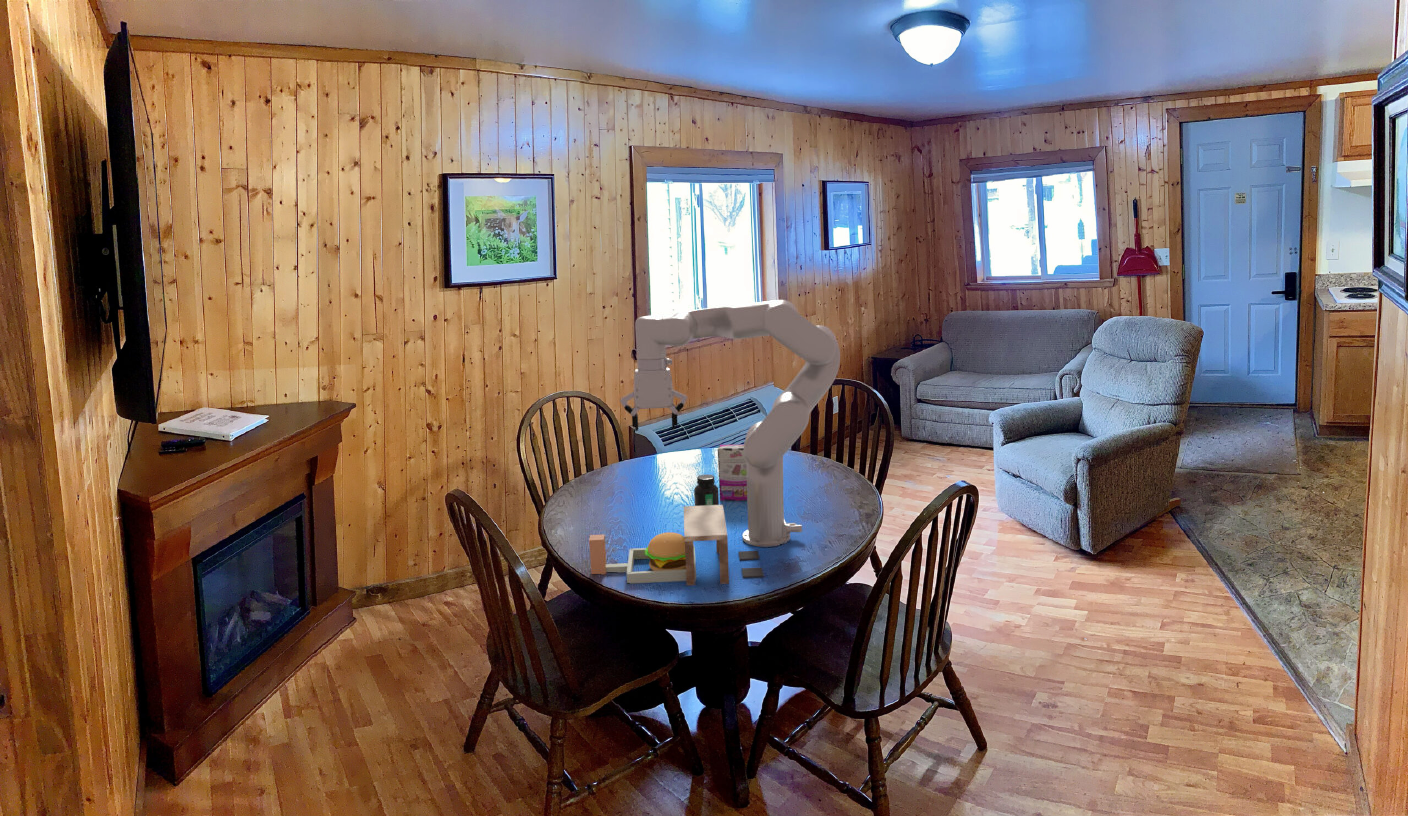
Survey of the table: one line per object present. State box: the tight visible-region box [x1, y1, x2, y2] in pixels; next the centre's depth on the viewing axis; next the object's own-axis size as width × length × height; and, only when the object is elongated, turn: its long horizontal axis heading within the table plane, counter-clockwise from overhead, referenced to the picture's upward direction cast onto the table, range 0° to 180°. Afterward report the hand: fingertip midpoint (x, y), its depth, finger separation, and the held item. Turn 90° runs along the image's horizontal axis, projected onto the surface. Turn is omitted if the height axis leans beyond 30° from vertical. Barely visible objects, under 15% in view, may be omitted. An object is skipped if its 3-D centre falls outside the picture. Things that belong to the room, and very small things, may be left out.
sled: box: [588, 534, 697, 584], centre depth 230 cm, size 26×16×9 cm, turn 92°
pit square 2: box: [741, 566, 765, 579], centre depth 227 cm, size 5×5×1 cm
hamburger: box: [645, 531, 686, 571], centre depth 231 cm, size 12×12×9 cm
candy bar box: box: [717, 444, 747, 502], centre depth 280 cm, size 11×5×16 cm, turn 81°
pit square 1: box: [738, 550, 761, 561], centre depth 237 cm, size 5×5×1 cm
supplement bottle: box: [693, 474, 720, 506], centre depth 265 cm, size 7×7×12 cm
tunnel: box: [683, 504, 730, 586], centre depth 230 cm, size 10×22×12 cm, turn 2°
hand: (655, 428), depth 245 cm, fingers open, 9 cm apart
